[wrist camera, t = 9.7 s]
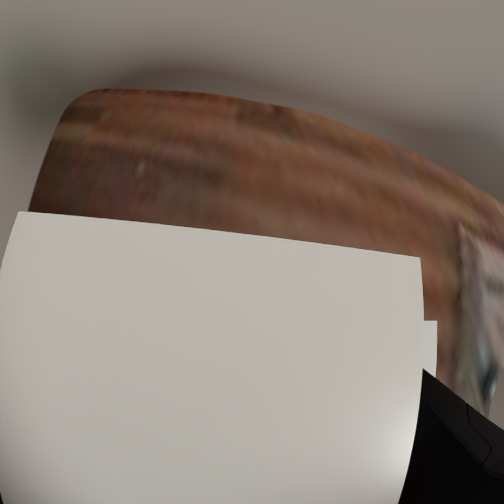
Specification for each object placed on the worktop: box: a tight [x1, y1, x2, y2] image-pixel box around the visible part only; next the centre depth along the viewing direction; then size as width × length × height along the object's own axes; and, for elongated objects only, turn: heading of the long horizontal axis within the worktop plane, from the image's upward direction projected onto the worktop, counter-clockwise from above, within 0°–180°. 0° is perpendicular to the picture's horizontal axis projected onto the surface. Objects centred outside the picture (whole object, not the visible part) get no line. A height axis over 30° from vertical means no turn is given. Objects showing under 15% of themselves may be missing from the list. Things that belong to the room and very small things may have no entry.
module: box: [0, 211, 424, 504], centre depth 8 cm, size 5×5×13 cm
